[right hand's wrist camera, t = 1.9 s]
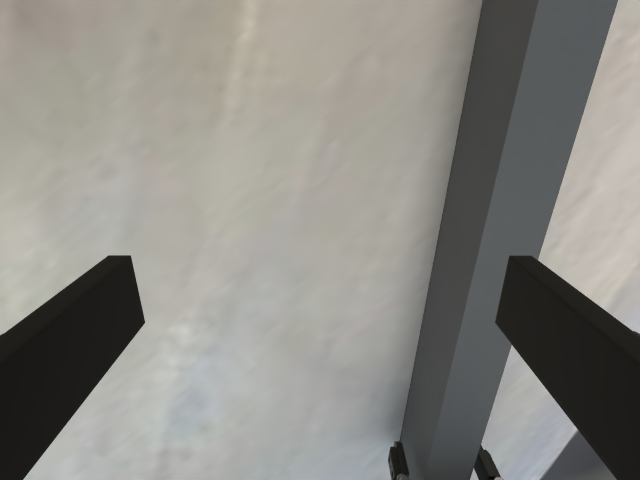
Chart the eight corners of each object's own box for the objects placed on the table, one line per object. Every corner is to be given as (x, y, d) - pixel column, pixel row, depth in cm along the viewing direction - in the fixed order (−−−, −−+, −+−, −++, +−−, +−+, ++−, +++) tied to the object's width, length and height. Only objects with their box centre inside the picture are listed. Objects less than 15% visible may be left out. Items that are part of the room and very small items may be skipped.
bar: (535, -278, 22) (652, -478, 14) (608, -272, 22) (763, -468, 14) (398, 444, 45) (415, 516, 37) (434, 445, 45) (458, 517, 37)
